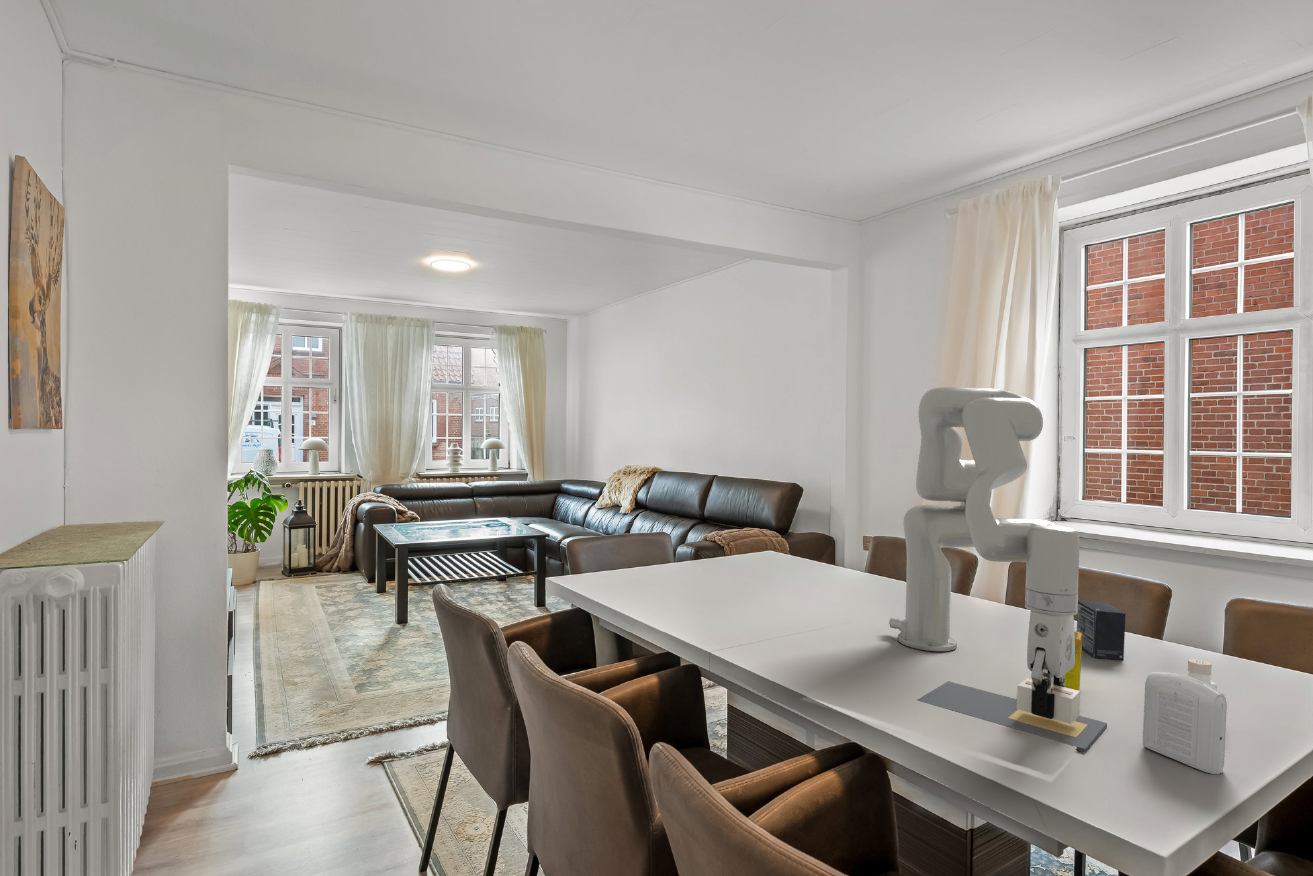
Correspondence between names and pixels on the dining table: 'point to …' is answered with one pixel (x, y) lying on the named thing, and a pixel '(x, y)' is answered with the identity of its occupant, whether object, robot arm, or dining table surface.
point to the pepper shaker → (1200, 671)
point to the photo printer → (1185, 720)
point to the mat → (1013, 715)
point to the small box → (1101, 629)
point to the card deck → (1063, 701)
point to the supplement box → (1074, 674)
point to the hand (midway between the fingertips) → (1047, 710)
